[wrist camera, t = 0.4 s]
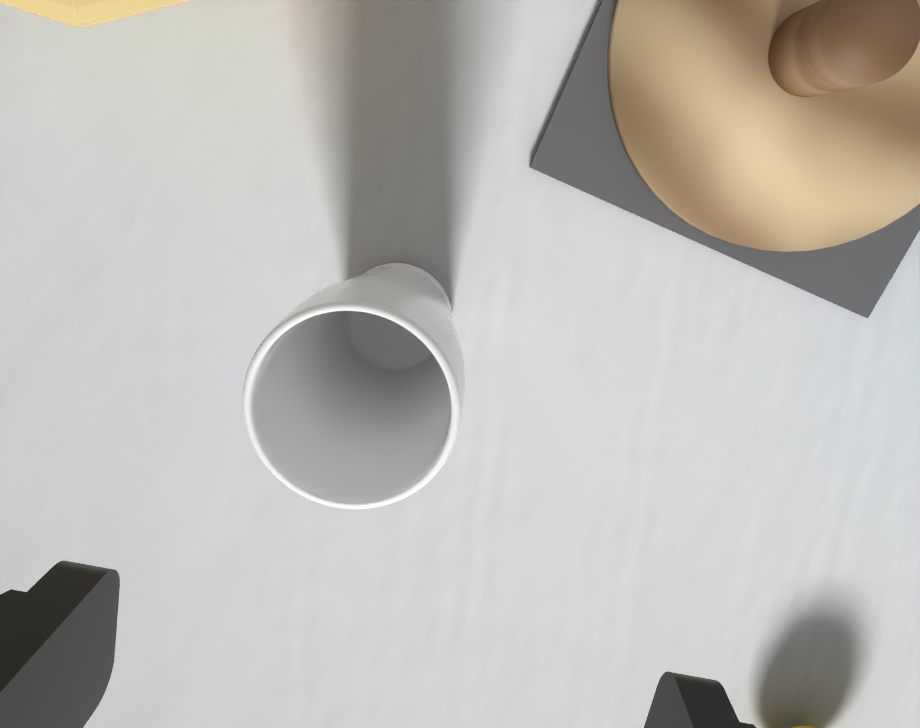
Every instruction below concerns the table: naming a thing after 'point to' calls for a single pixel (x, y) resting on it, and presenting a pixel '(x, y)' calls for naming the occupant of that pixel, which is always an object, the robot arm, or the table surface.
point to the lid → (771, 114)
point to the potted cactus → (88, 9)
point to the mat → (615, 181)
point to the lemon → (803, 727)
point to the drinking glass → (359, 389)
